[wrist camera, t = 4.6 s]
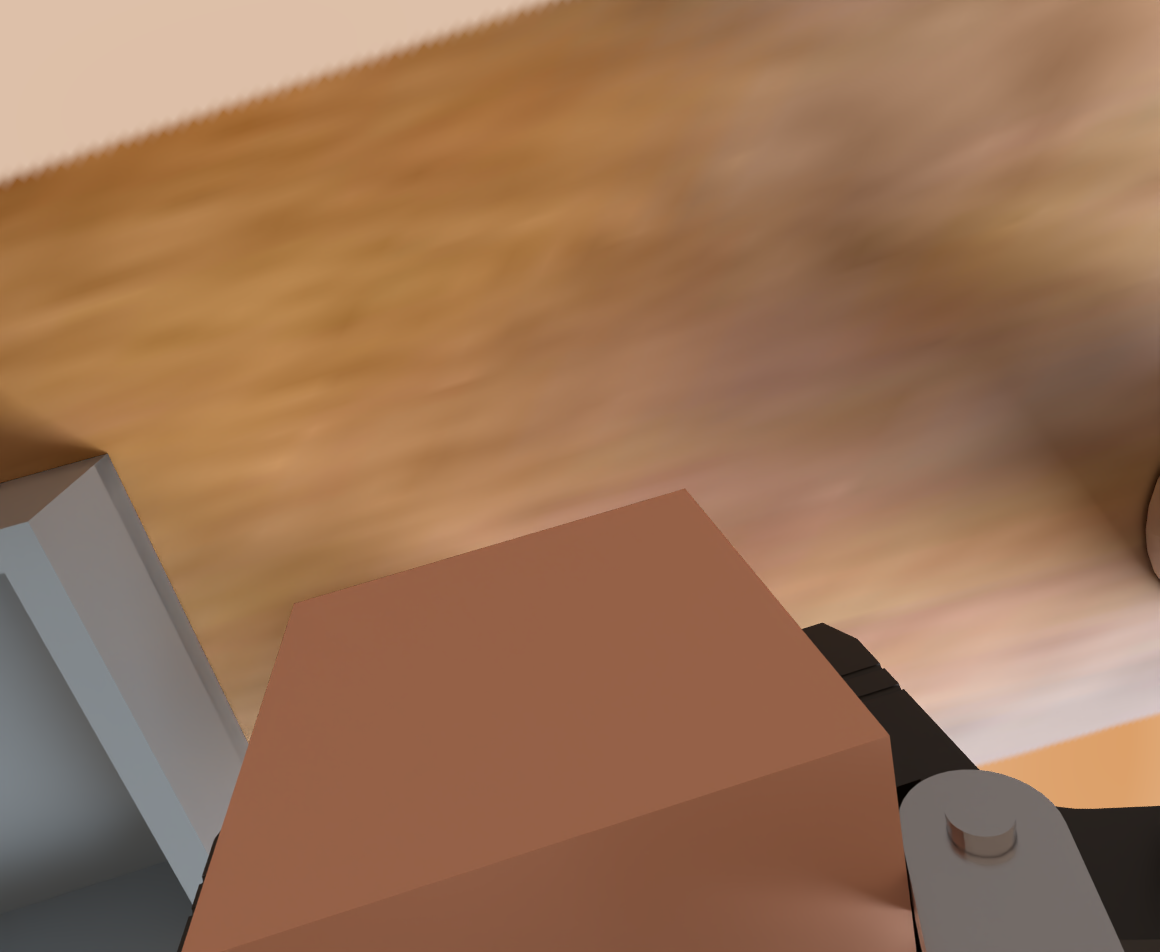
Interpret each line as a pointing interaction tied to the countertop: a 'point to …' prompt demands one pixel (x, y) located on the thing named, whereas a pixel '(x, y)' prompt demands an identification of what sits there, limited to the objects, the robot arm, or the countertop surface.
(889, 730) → the robot arm
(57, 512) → the tote
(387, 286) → the countertop surface
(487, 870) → the terracotta cube
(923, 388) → the countertop surface
